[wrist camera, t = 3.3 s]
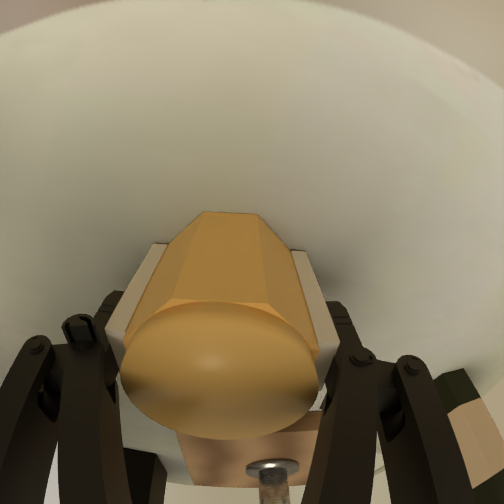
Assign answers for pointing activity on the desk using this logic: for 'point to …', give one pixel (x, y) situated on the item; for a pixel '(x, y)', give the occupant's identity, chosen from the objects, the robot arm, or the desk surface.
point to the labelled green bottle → (474, 435)
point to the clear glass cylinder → (273, 479)
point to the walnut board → (250, 454)
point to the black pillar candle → (145, 477)
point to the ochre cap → (222, 334)
